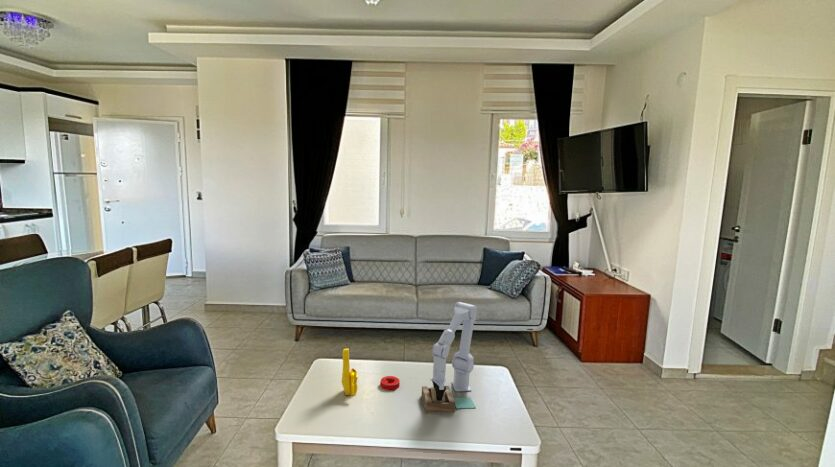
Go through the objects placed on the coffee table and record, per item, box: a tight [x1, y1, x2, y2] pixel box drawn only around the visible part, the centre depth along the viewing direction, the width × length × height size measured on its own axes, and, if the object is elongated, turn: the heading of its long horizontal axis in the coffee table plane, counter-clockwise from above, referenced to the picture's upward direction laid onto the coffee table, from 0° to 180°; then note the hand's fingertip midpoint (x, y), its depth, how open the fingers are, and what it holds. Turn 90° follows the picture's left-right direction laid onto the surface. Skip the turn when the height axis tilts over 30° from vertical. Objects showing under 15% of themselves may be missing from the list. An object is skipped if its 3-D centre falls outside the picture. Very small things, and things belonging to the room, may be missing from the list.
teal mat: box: [453, 397, 477, 410], centre depth 197 cm, size 9×9×1 cm
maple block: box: [430, 386, 446, 402], centre depth 195 cm, size 4×6×5 cm, turn 97°
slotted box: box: [421, 385, 456, 414], centre depth 196 cm, size 15×13×5 cm
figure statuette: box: [341, 348, 359, 397], centre depth 201 cm, size 18×8×22 cm, turn 7°
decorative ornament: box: [379, 375, 401, 391], centre depth 211 cm, size 10×10×3 cm
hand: (437, 396), depth 195 cm, fingers open, 6 cm apart
